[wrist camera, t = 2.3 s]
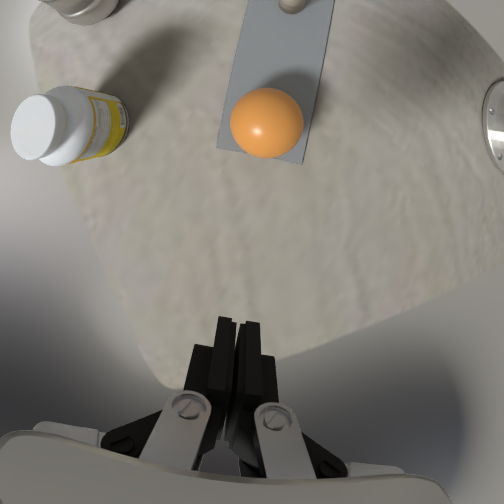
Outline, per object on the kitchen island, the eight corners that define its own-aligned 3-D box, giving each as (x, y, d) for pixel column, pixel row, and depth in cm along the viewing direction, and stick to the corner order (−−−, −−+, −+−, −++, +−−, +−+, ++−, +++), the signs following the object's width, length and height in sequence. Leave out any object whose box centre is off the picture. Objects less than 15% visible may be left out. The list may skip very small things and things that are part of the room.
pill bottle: (68, 118, 25) (-7, 121, 14) (115, 82, 24) (47, 62, 13) (93, 168, 27) (22, 190, 17) (142, 133, 26) (79, 136, 15)
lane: (338, -26, 20) (338, -27, 19) (301, 164, 27) (301, 164, 27) (261, -43, 19) (261, -44, 19) (216, 147, 27) (216, 148, 27)
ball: (303, 101, 25) (316, 92, 20) (290, 162, 27) (300, 168, 22) (239, 88, 25) (235, 75, 19) (226, 149, 27) (220, 152, 21)
